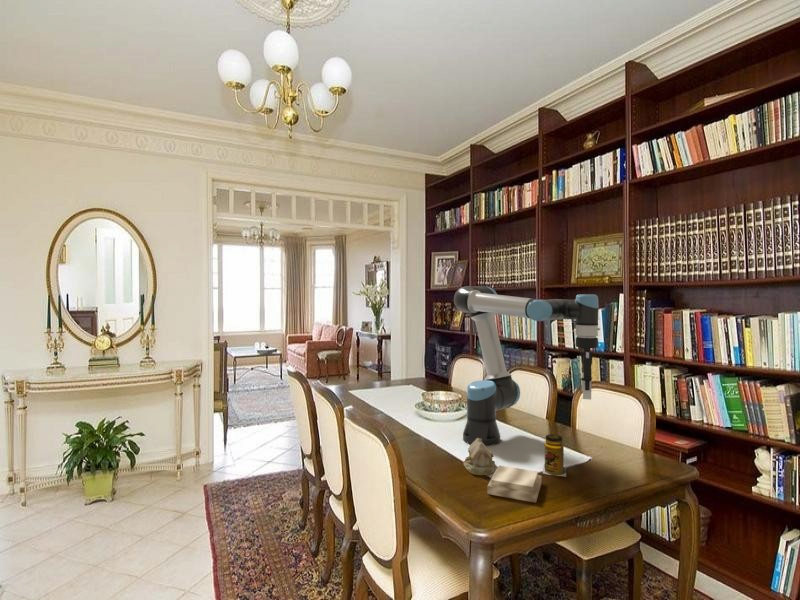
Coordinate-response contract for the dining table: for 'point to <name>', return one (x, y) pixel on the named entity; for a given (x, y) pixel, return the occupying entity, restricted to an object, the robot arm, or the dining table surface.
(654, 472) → the dining table surface
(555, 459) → the condiment
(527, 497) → the plinth
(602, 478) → the dining table surface
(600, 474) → the dining table surface
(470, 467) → the ceramic model
